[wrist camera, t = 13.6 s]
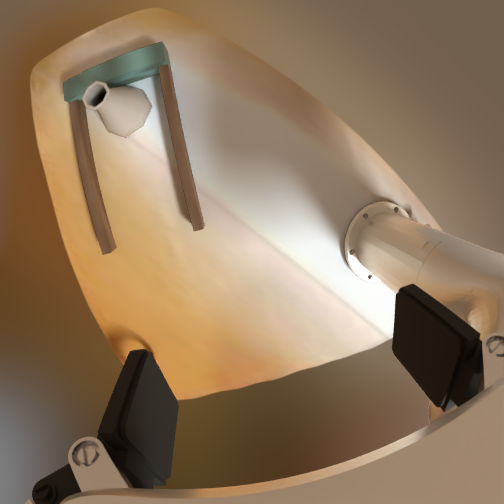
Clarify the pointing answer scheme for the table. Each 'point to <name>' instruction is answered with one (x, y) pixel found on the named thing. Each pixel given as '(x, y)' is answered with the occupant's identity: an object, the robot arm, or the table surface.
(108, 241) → the guide channel
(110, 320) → the table surface
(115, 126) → the flask
